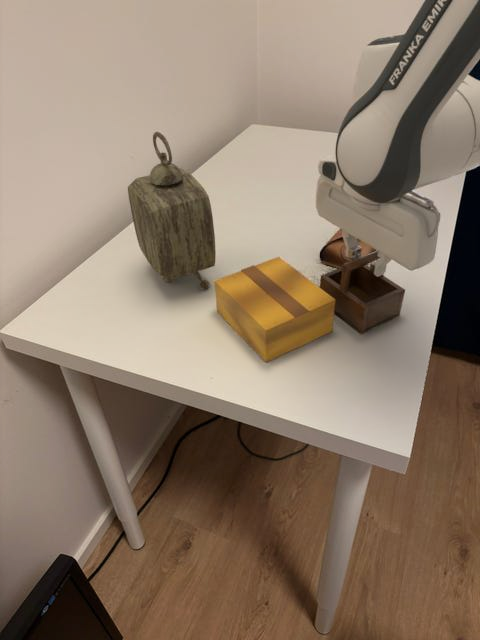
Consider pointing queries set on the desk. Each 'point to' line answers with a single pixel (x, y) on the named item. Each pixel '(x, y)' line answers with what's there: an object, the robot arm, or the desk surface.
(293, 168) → the desk surface
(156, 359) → the desk surface
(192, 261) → the tabletop clock
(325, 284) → the basket
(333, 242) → the sunglasses case
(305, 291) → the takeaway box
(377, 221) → the robot arm
